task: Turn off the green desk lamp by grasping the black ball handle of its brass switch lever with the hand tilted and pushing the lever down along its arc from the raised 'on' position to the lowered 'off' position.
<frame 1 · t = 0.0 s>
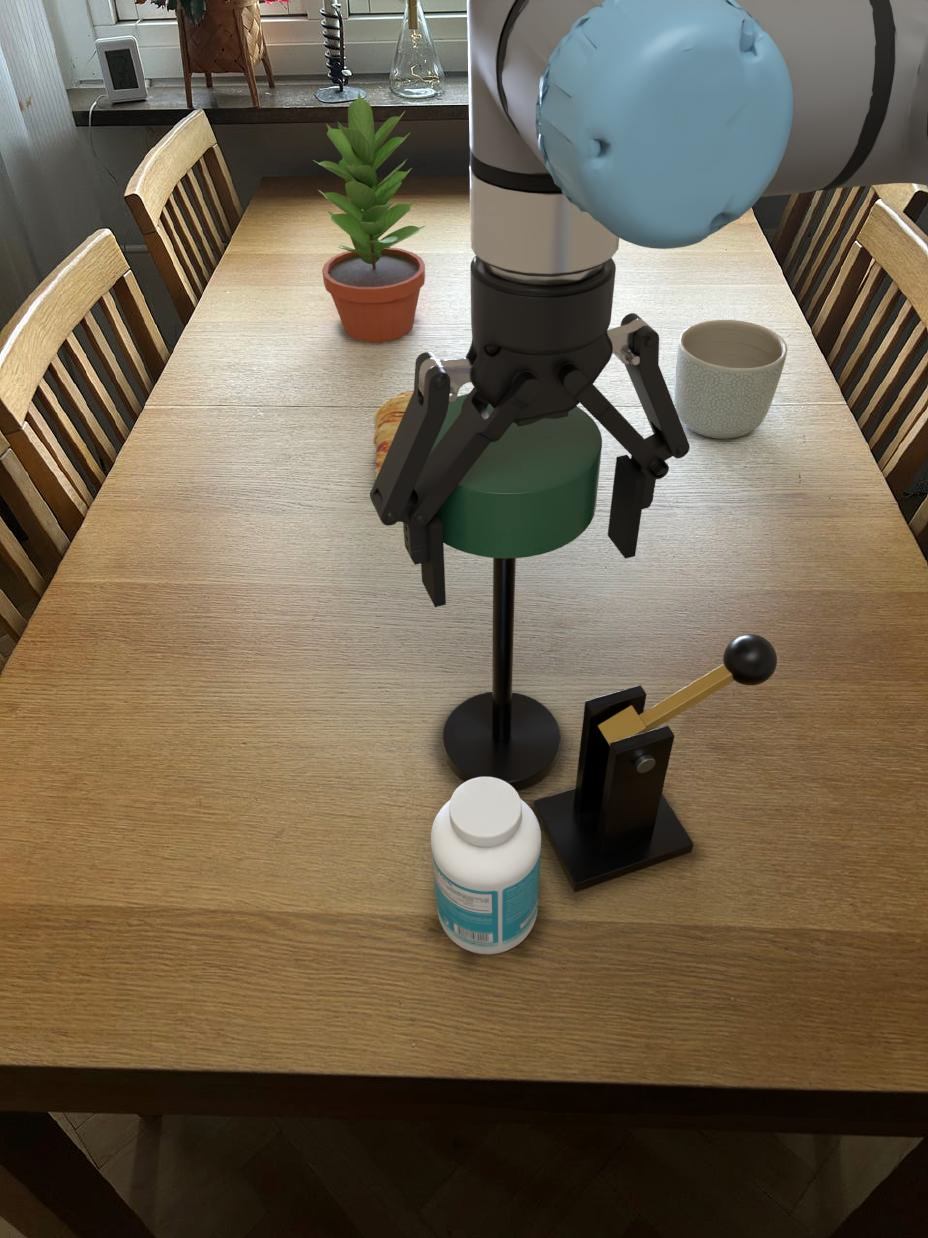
hand: (529, 569, 62), 22 cm above the table, tool pointing down, fingers open, 13 cm apart
pill bottle: (486, 912, 69), on the table
switch bracket: (610, 830, 74), on the table
desk lamp: (501, 745, 80), on the table
lamp switch: (690, 695, 65), point 14 cm above the table, hinge at 25.0°
planter: (716, 425, 116), on the table
potted plant: (380, 328, 137), on the table
croissant: (414, 447, 114), on the table
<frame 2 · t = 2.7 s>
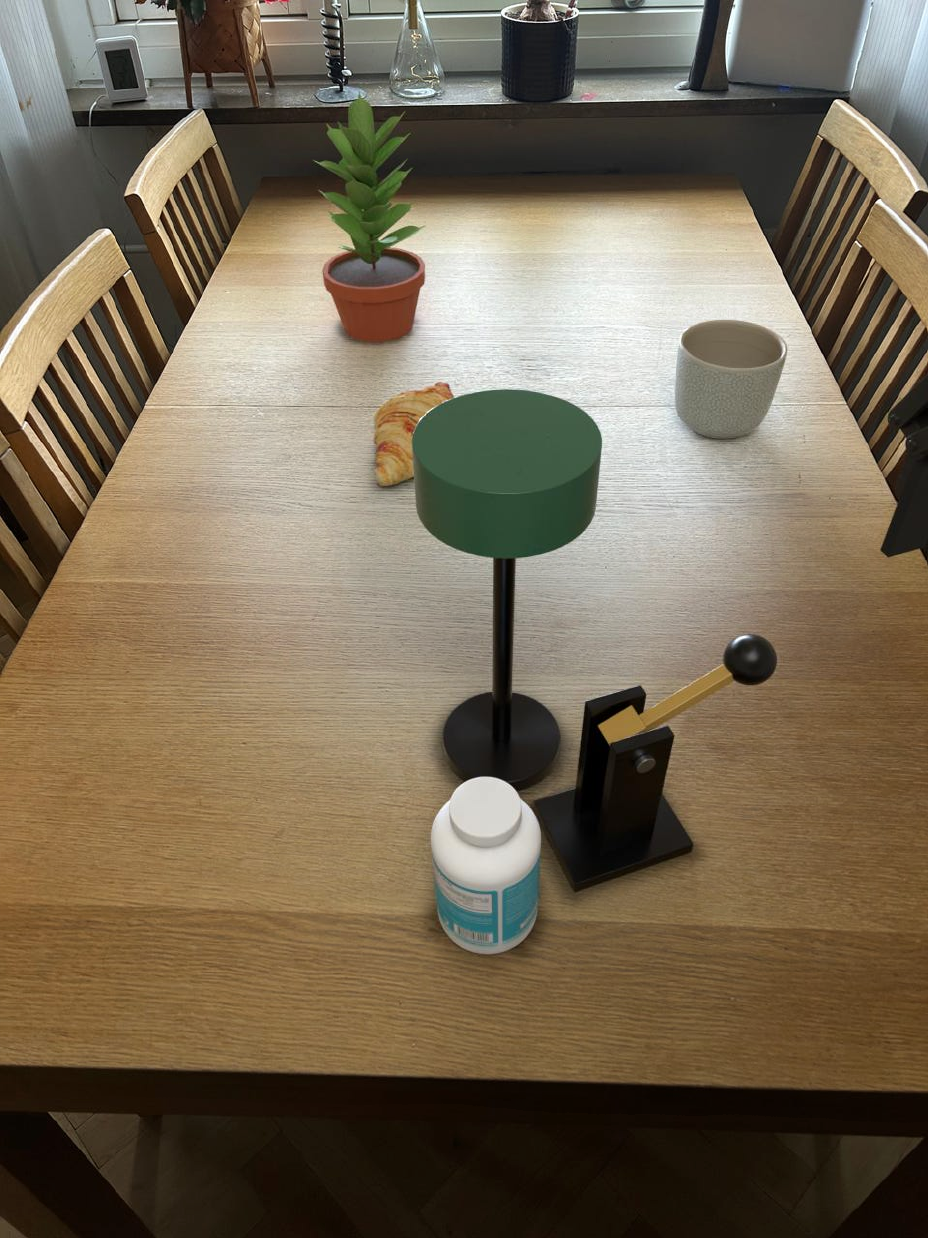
nothing on the table moved.
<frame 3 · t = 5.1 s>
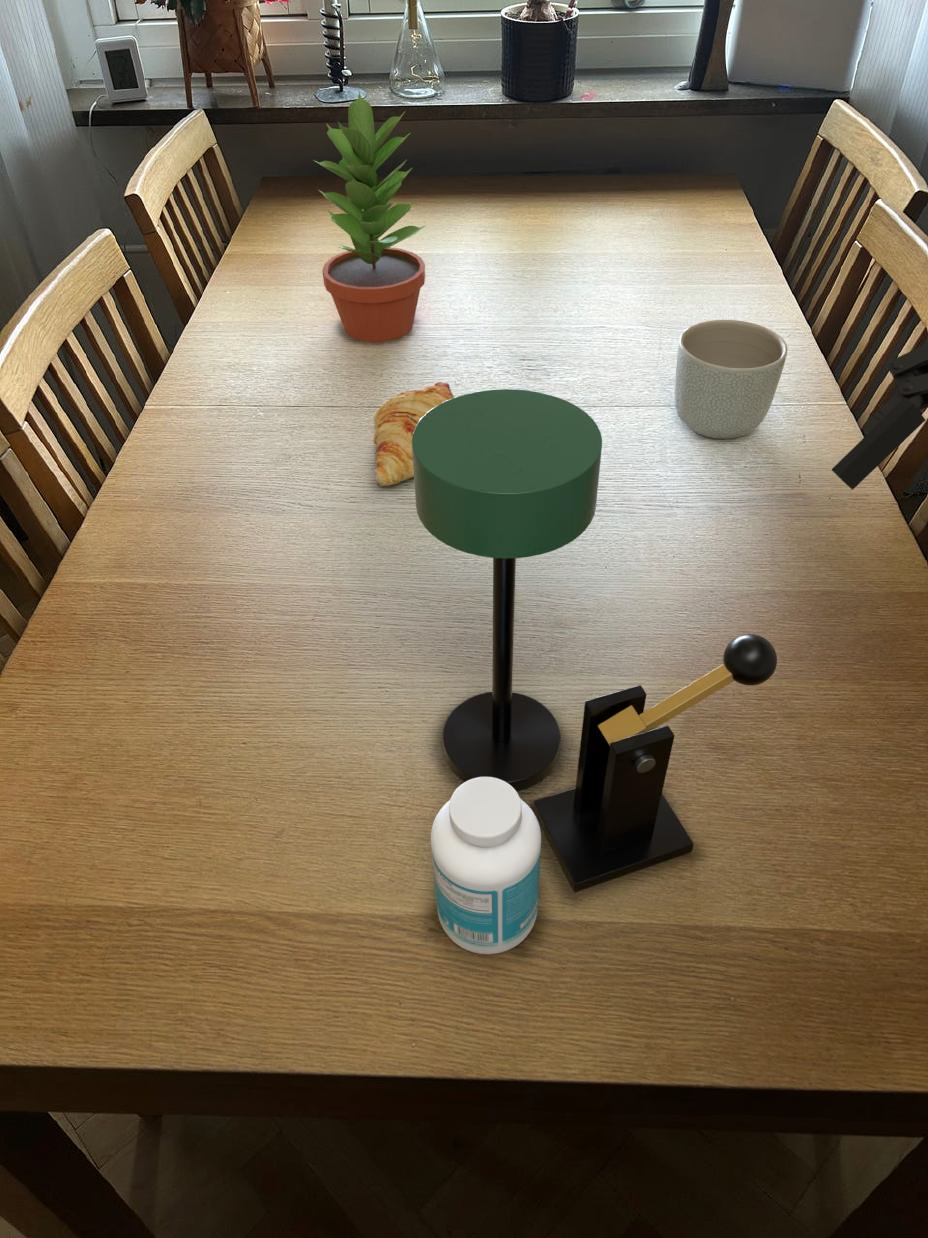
hand: (908, 539, 61), 24 cm above the table, tool tilted 45°, fingers open, 13 cm apart
nothing on the table moved.
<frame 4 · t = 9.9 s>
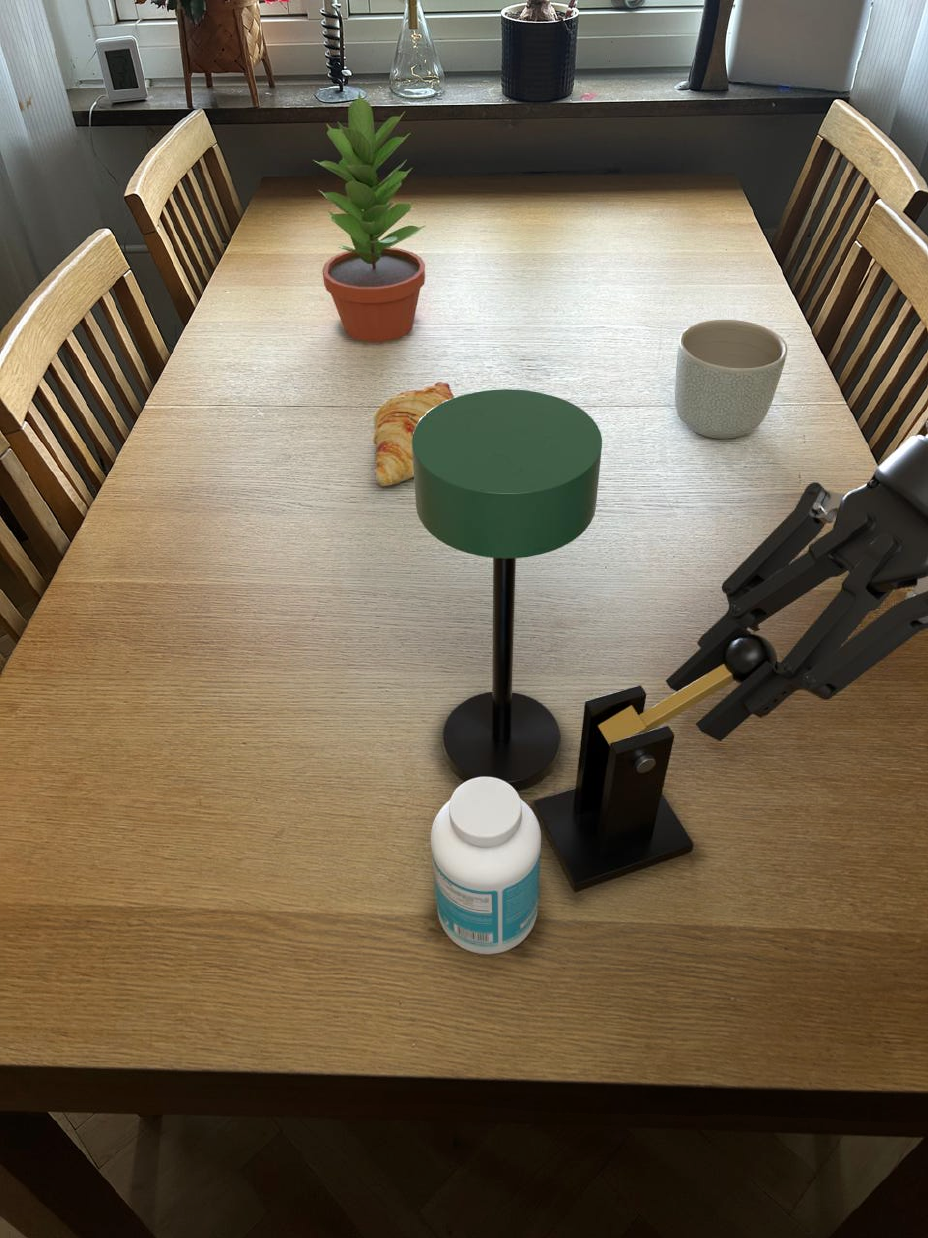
hand: (692, 710, 66), 12 cm above the table, tool tilted 45°, fingers closed on lamp switch, 4 cm apart
lamp switch: (690, 695, 65), point 14 cm above the table, hinge at 25.0°, touching gripper
everything else where it was.
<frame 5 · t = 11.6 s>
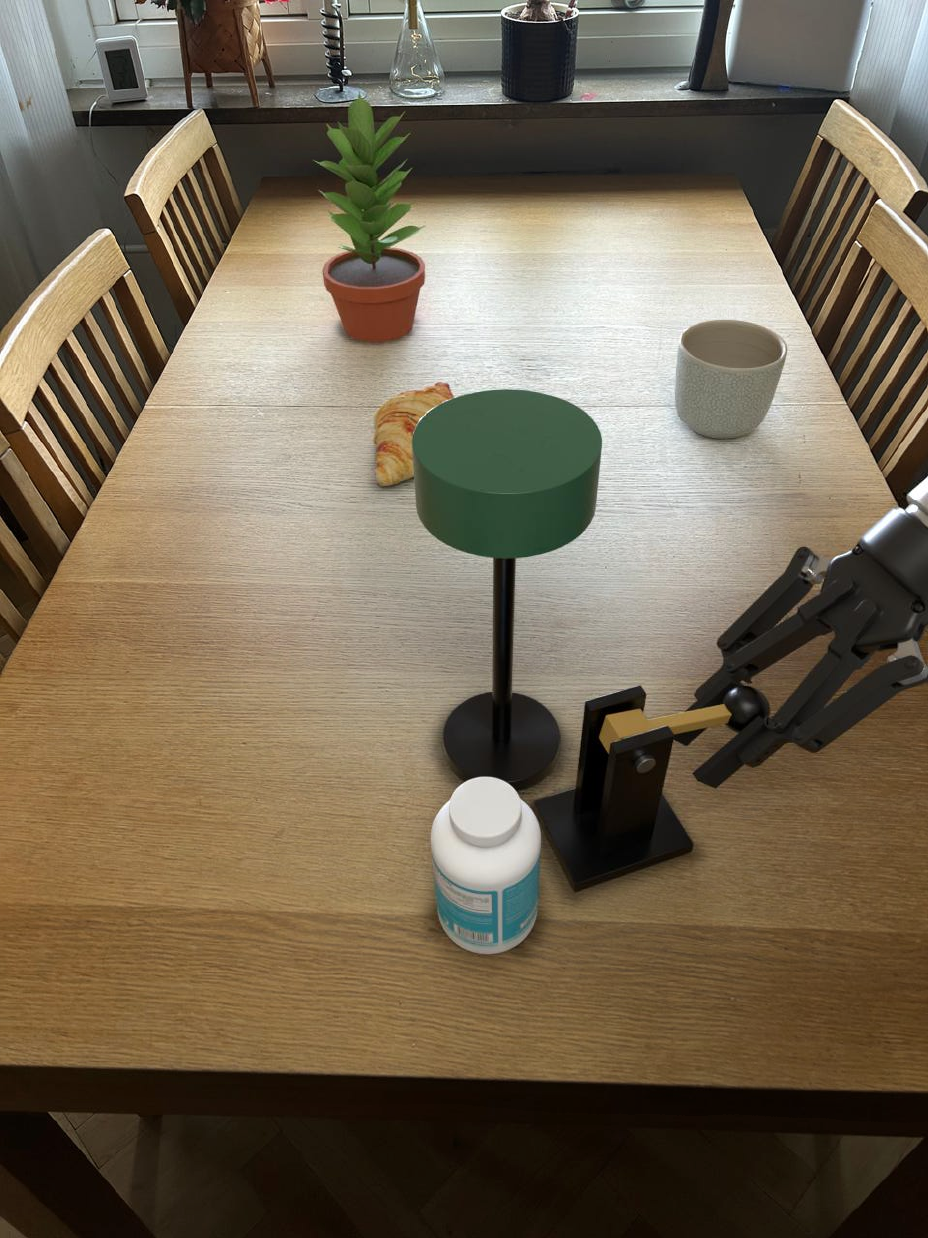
hand: (689, 758, 71), 6 cm above the table, tool tilted 45°, fingers closed on lamp switch, 4 cm apart
lamp switch: (689, 721, 67), point 11 cm above the table, hinge at -8.3°, touching gripper
everything else where it was.
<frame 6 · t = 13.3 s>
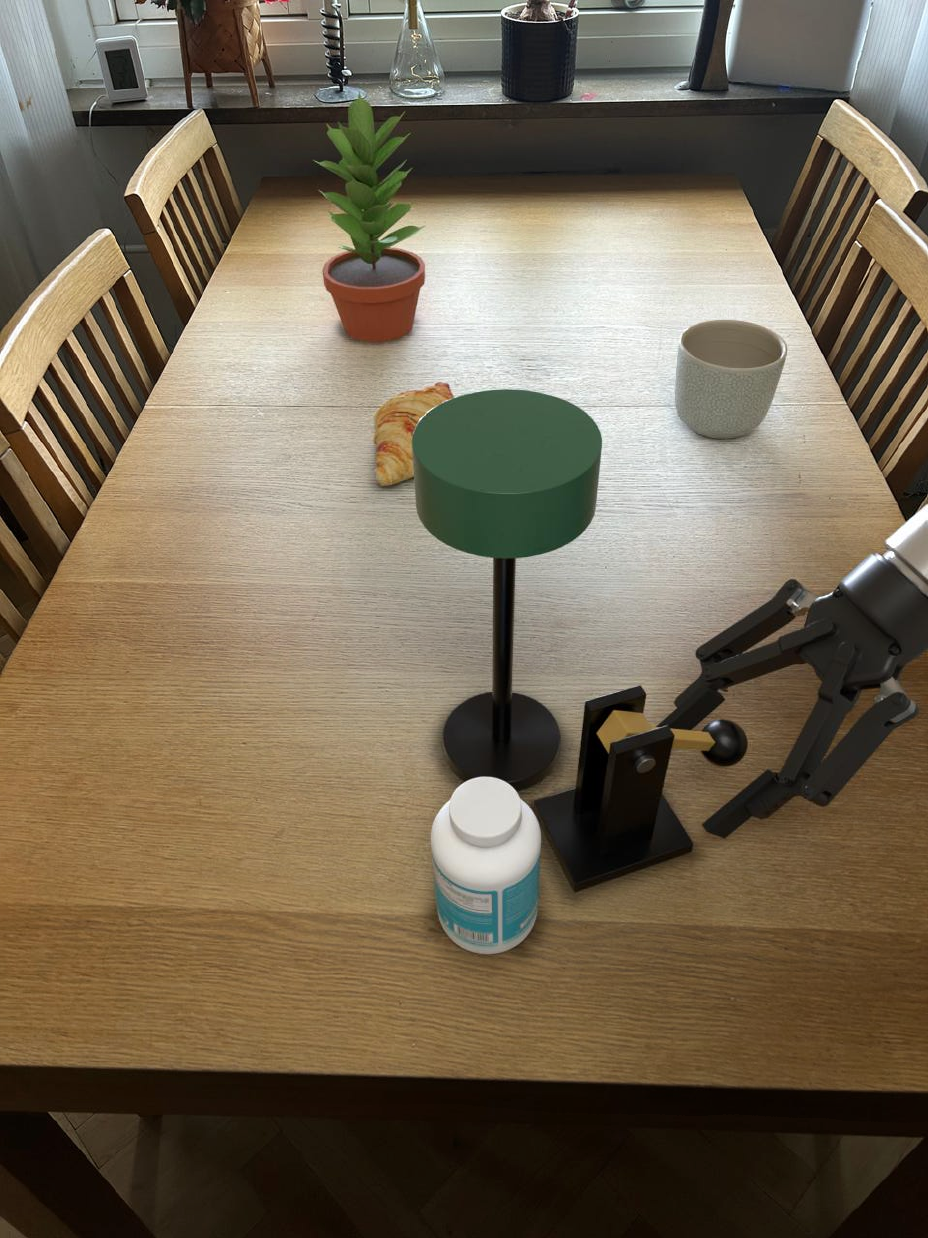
hand: (683, 785, 73), 3 cm above the table, tool tilted 45°, fingers open, 8 cm apart
lamp switch: (678, 739, 68), point 9 cm above the table, hinge at -28.9°
everything else where it was.
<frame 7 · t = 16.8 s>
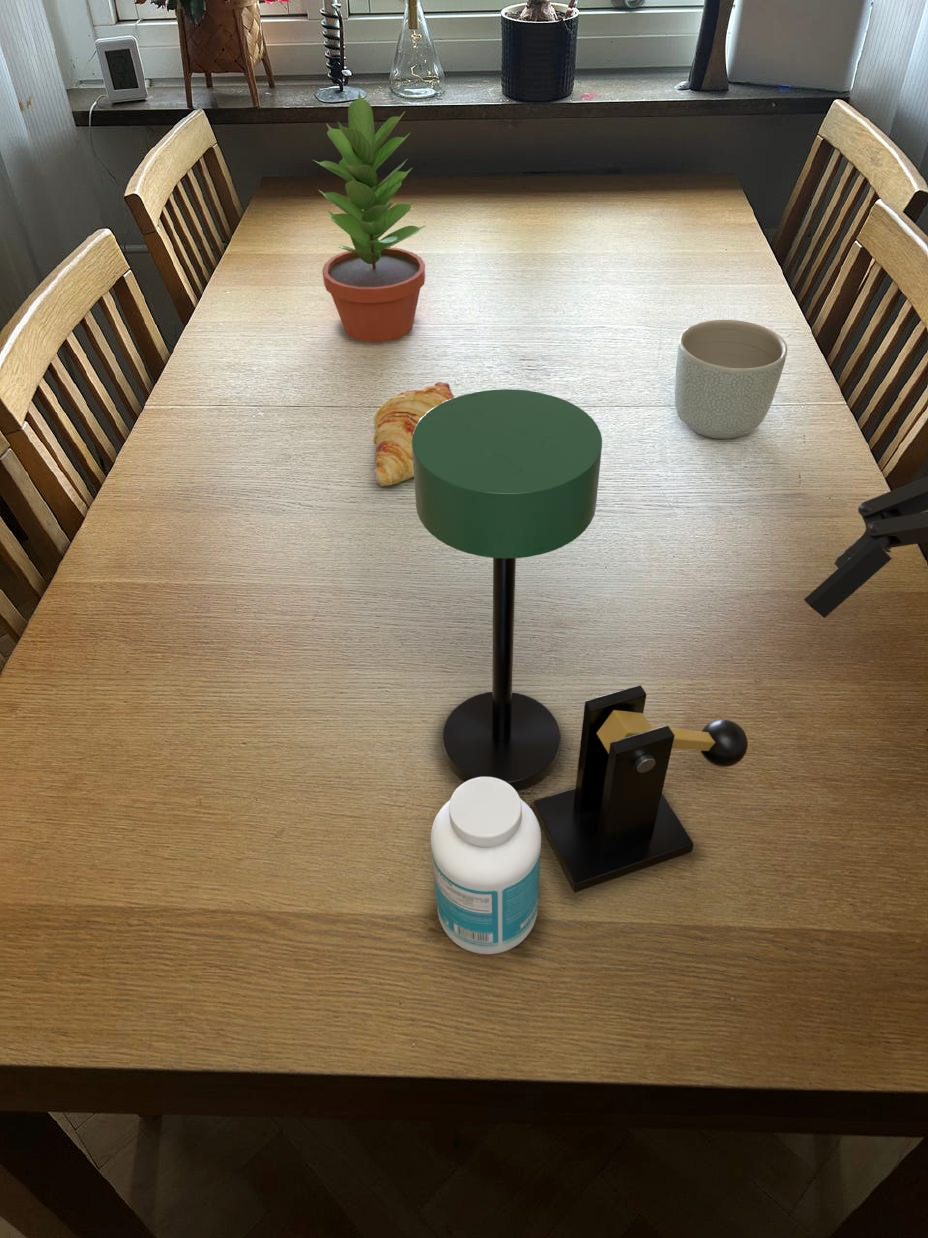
hand: (870, 670, 66), 14 cm above the table, tool tilted 45°, fingers open, 13 cm apart
nothing on the table moved.
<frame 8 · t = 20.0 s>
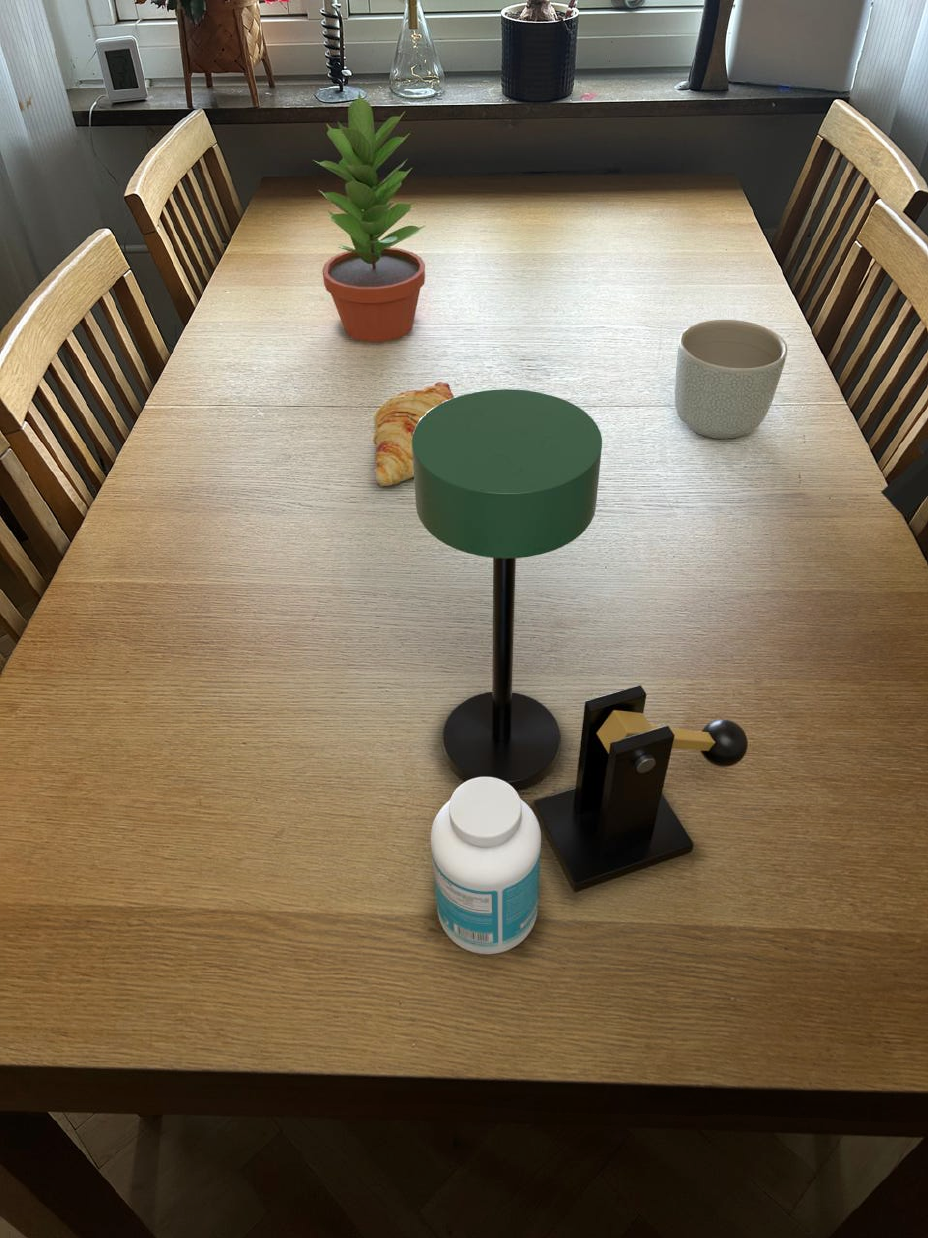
nothing on the table moved.
at the end: lamp switch at -29° (first picture: +25°); the gripper is holding nothing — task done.
